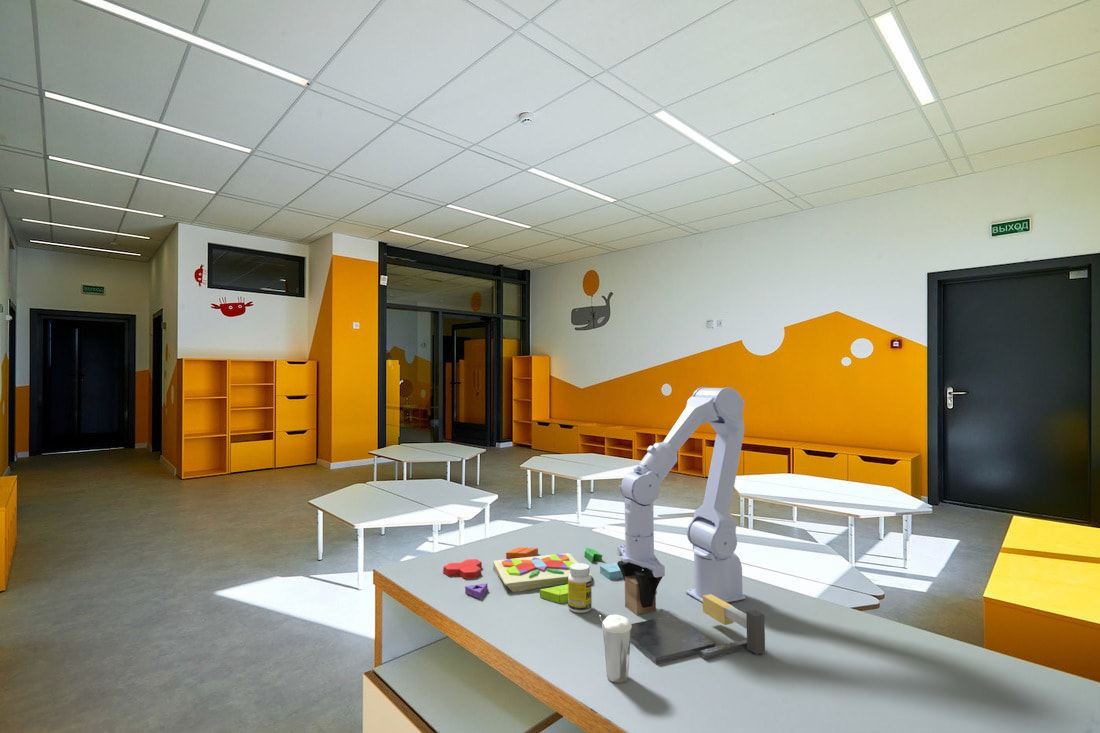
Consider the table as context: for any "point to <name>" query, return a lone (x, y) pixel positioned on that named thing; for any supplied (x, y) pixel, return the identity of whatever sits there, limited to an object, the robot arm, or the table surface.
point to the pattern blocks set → (530, 572)
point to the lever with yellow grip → (738, 620)
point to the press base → (676, 640)
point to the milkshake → (617, 647)
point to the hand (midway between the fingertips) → (640, 601)
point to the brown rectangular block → (635, 597)
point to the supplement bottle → (579, 588)
